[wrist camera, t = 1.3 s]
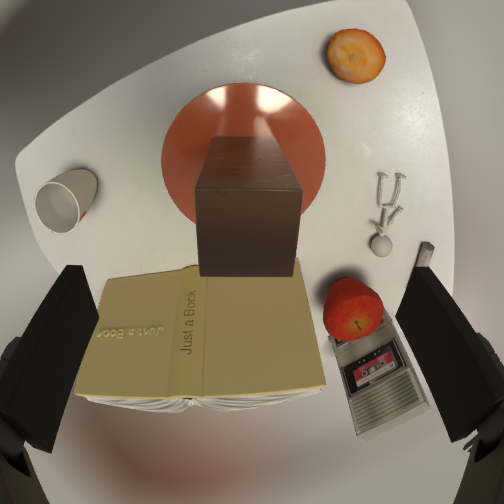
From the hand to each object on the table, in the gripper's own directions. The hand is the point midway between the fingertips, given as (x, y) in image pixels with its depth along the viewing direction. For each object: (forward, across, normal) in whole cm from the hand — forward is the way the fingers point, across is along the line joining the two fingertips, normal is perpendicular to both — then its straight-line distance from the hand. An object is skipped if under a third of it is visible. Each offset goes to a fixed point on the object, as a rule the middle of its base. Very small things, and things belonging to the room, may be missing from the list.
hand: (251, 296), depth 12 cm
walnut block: (+16, 0, 0) cm, 16 cm away
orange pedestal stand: (+36, 0, 0) cm, 36 cm away
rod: (+37, +36, -24) cm, 57 cm away
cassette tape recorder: (+37, +27, -41) cm, 61 cm away
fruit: (+36, +15, +12) cm, 41 cm away
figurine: (+37, +25, -13) cm, 46 cm away
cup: (+37, -26, -8) cm, 46 cm away
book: (+37, -7, -28) cm, 47 cm away
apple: (+37, +20, -29) cm, 51 cm away
